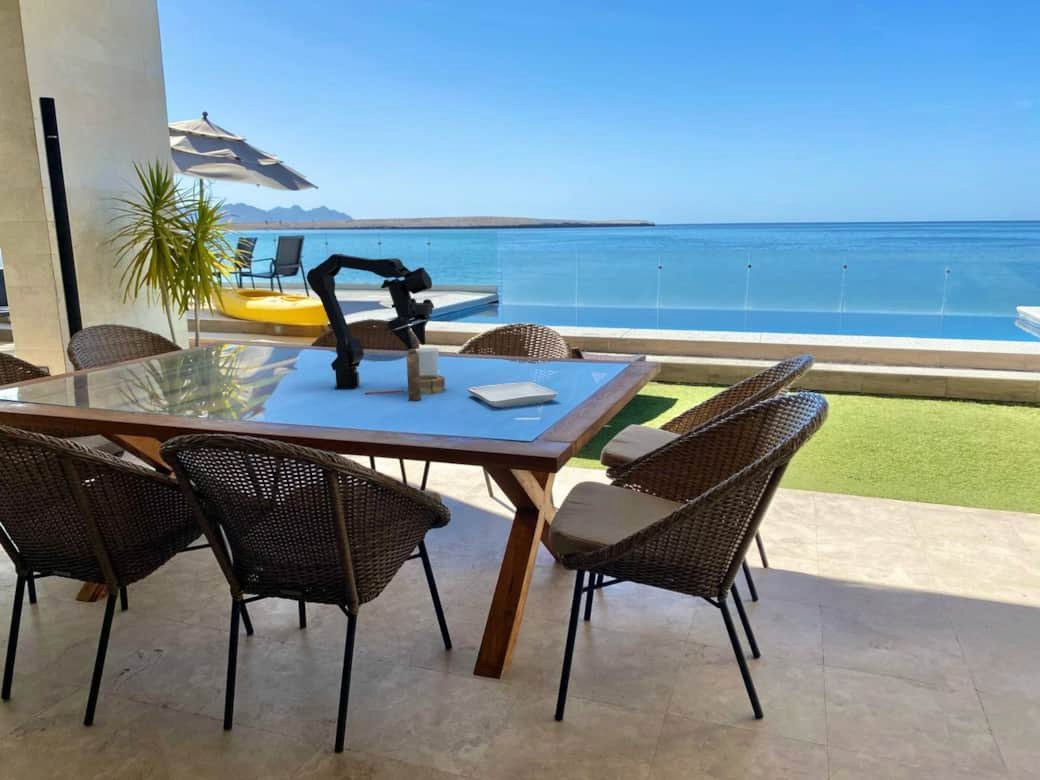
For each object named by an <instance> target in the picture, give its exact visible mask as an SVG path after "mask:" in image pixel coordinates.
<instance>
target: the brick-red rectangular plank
mask: <svg viewBox="0 0 1040 780" xmlns="http://www.w3.org/2000/svg"><path fill="white" fill-rule="evenodd" d="M396 392H401V393H405V390H404V389H402V390H401V389H399V390H381V391H365V392H364V395H373V394H372V393H381V394H394V393H396Z"/></svg>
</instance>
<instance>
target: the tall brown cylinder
mask: <svg viewBox="0 0 1040 780" xmlns="http://www.w3.org/2000/svg"><path fill="white" fill-rule="evenodd" d="M415 349H416V348H413V349H408V352H407V353H406V355H405V356H406V372H407V374H406V375H407V392H408V393H407V394H408V395H407V397H408V401H409V402H419V401H421V400H422V399H421V397H422V396H421V395H422V394H420V370H419V353H417V352H416V350H415Z"/></svg>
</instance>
